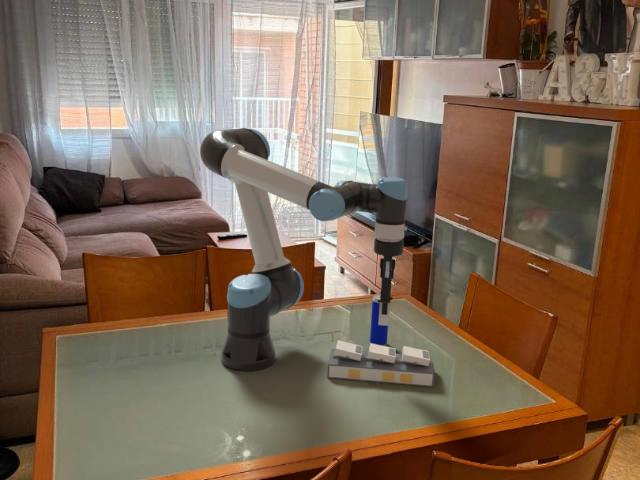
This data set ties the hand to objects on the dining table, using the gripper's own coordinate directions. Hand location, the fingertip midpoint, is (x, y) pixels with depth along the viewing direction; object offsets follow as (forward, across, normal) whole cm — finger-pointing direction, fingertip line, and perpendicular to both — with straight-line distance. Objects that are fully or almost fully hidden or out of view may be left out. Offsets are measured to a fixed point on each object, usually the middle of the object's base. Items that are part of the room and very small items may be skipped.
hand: (383, 324), depth 164 cm
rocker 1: (+9, 0, +9) cm, 13 cm away
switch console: (+14, 0, 0) cm, 14 cm away
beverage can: (+15, +20, +1) cm, 25 cm away
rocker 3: (+9, 0, -9) cm, 13 cm away
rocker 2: (+9, 0, 0) cm, 9 cm away
